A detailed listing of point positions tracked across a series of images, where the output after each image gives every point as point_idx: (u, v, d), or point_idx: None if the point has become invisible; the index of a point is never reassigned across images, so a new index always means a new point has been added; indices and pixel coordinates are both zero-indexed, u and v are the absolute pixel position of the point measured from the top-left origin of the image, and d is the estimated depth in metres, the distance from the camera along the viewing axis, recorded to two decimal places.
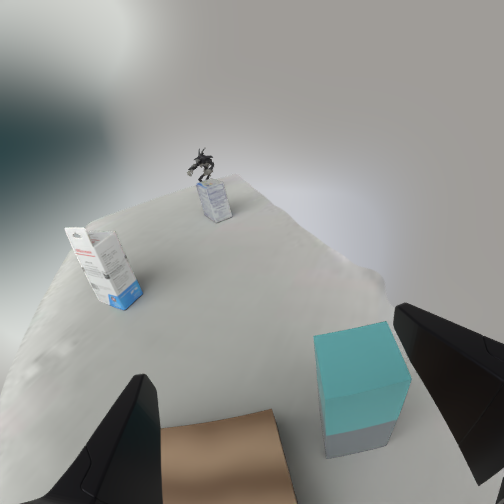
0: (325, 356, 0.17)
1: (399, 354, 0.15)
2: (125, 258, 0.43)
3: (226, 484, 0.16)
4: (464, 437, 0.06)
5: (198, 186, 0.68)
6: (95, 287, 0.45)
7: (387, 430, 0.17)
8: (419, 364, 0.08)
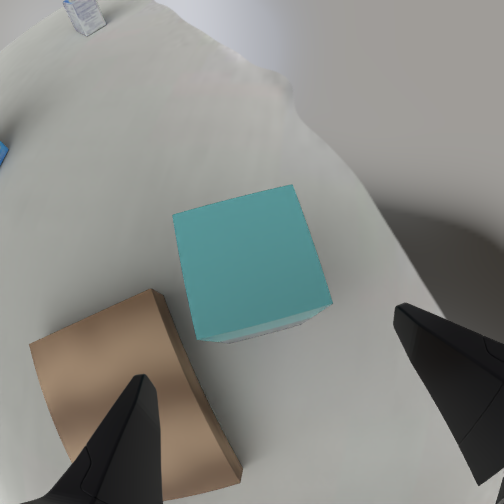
0: (191, 255, 0.11)
1: (313, 253, 0.11)
2: None
3: None
4: (464, 437, 0.06)
5: (64, 3, 0.29)
6: None
7: (299, 322, 0.16)
8: (419, 364, 0.08)
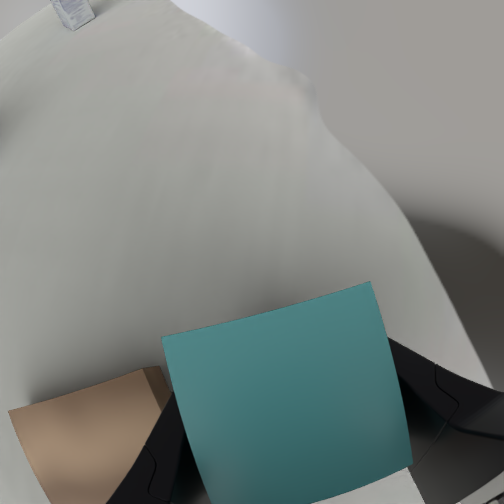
0: (200, 413, 0.06)
1: (398, 401, 0.06)
2: None
3: None
4: (414, 466, 0.06)
5: None
6: None
7: None
8: None
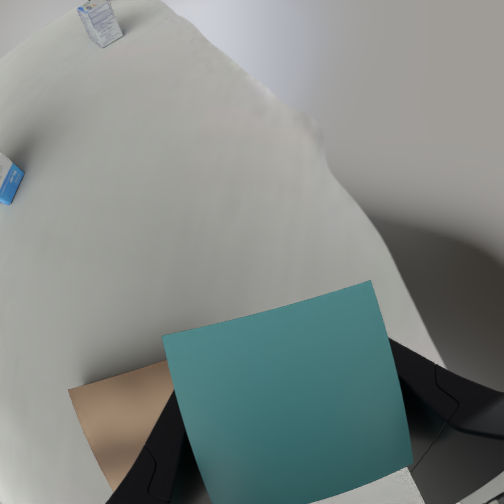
0: (200, 412, 0.06)
1: (398, 400, 0.06)
2: None
3: None
4: (414, 467, 0.06)
5: (79, 11, 0.30)
6: None
7: None
8: None
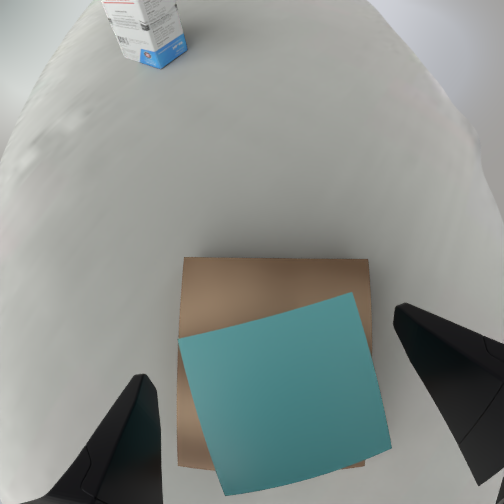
0: (210, 402, 0.07)
1: (376, 393, 0.07)
2: (175, 7, 0.23)
3: None
4: (464, 437, 0.06)
5: None
6: (123, 41, 0.27)
7: None
8: (419, 364, 0.08)
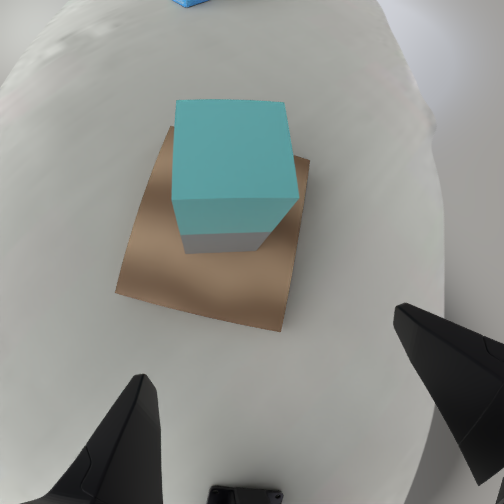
0: (185, 132, 0.12)
1: (290, 155, 0.12)
2: None
3: None
4: (464, 437, 0.06)
5: None
6: None
7: (257, 239, 0.18)
8: (419, 364, 0.08)
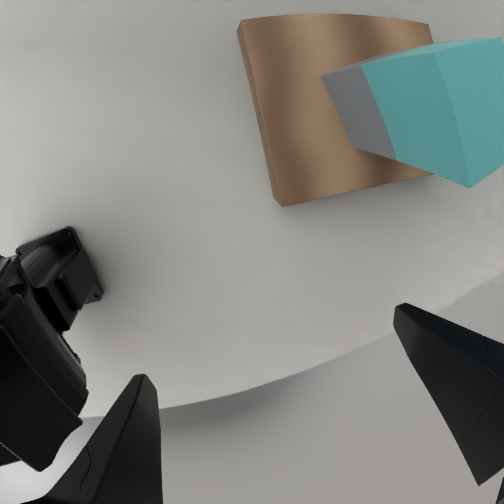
0: (484, 53, 0.06)
1: (495, 166, 0.08)
2: None
3: None
4: (464, 437, 0.06)
5: None
6: None
7: (378, 147, 0.14)
8: (419, 364, 0.08)
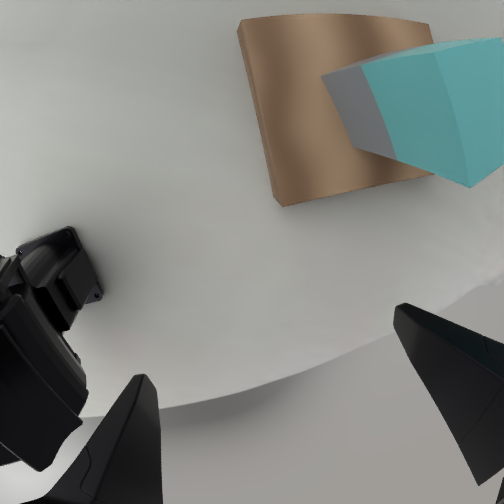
0: (484, 52, 0.06)
1: (496, 166, 0.08)
2: None
3: None
4: (464, 437, 0.06)
5: None
6: None
7: (378, 147, 0.14)
8: (419, 364, 0.08)
